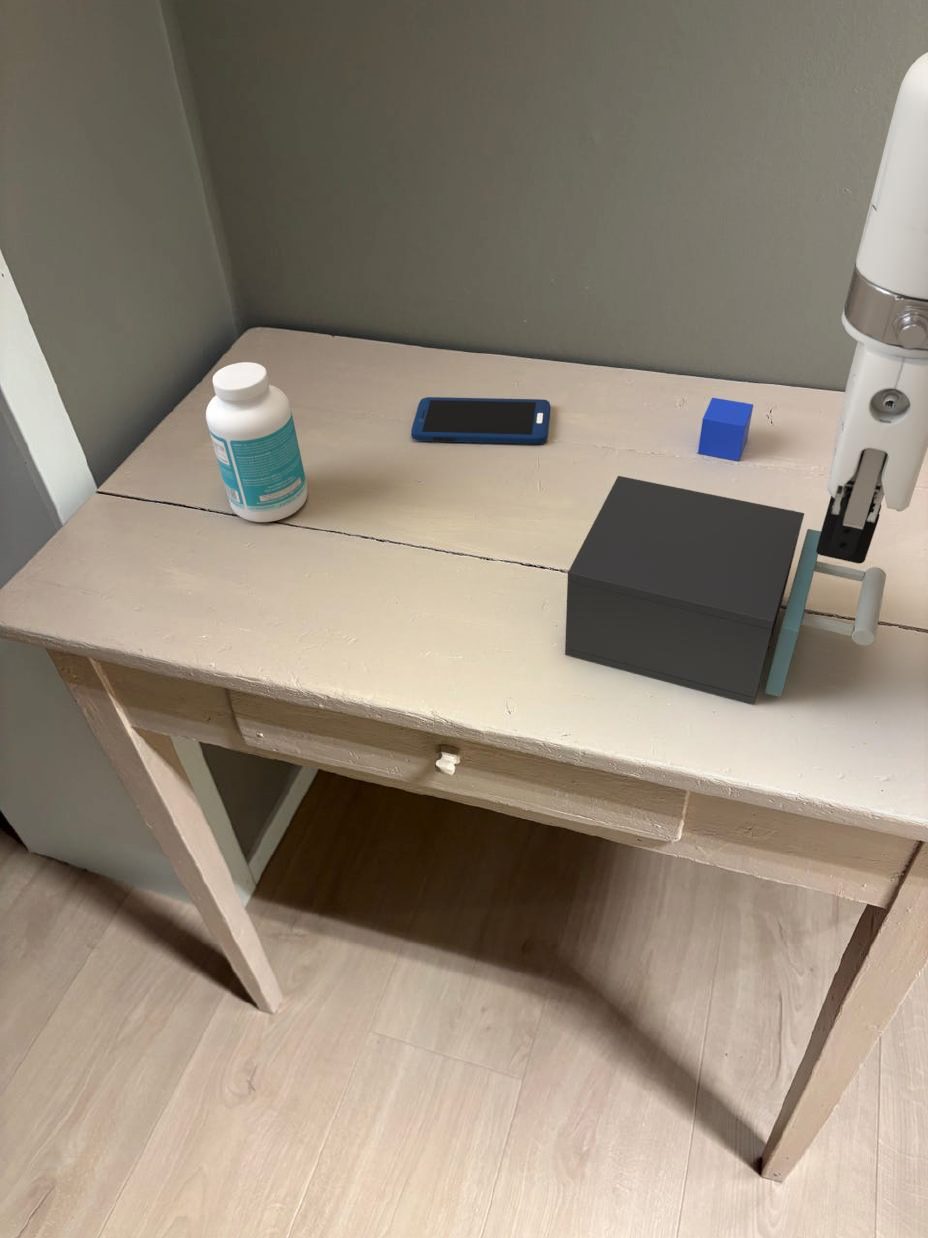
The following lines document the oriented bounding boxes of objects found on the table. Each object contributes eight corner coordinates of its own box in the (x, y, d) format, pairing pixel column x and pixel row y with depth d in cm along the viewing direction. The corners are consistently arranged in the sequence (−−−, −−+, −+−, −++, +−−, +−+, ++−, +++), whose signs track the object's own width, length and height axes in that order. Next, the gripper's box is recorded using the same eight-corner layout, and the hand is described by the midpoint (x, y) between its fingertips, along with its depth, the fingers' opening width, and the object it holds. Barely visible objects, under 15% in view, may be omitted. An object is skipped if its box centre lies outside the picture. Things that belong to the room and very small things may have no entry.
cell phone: (547, 444, 96) (547, 438, 95) (409, 441, 97) (409, 434, 97) (551, 405, 101) (551, 398, 100) (420, 402, 103) (420, 396, 102)
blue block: (747, 439, 95) (753, 404, 92) (738, 461, 92) (745, 425, 90) (706, 432, 96) (712, 397, 93) (697, 453, 94) (702, 418, 91)
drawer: (870, 612, 76) (893, 545, 71) (851, 716, 68) (875, 649, 63) (642, 560, 81) (649, 495, 77) (601, 650, 74) (606, 585, 69)
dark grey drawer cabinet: (783, 596, 79) (804, 512, 73) (753, 705, 70) (774, 621, 64) (611, 556, 83) (618, 475, 77) (564, 655, 75) (567, 572, 69)
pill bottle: (322, 485, 93) (298, 359, 83) (287, 532, 88) (258, 403, 78) (253, 473, 95) (223, 349, 85) (216, 518, 90) (179, 391, 80)
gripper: (985, 379, 48) (885, 638, 60) (995, 255, 57) (908, 501, 70) (828, 355, 50) (765, 609, 63) (864, 239, 59) (802, 480, 72)
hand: (840, 551), depth 66 cm, fingers closed
